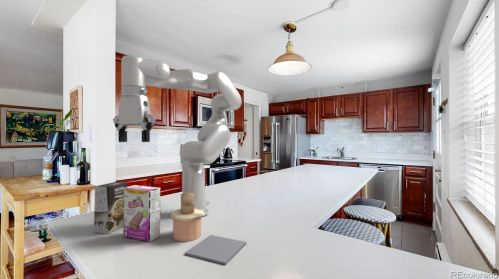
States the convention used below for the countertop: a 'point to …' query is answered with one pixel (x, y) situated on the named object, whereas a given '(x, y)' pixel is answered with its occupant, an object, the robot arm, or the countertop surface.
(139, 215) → the candy bar box
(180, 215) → the lid
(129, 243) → the countertop surface
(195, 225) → the bowl
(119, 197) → the coffee box
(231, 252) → the mat
